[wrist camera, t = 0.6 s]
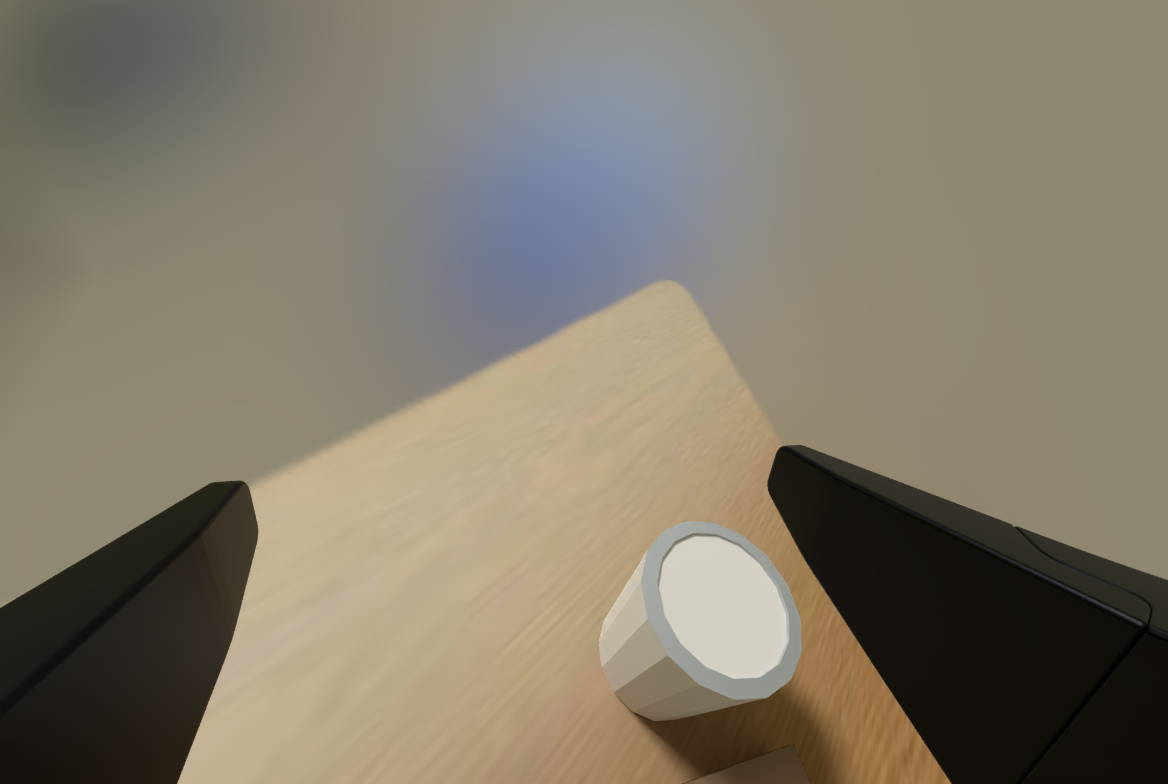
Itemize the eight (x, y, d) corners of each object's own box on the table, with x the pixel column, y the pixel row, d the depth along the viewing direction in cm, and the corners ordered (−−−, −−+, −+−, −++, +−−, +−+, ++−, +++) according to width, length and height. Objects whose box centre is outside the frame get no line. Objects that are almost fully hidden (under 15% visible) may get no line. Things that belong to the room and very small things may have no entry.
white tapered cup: (591, 571, 26) (641, 503, 21) (711, 598, 27) (784, 538, 22) (580, 724, 21) (642, 681, 17) (726, 750, 22) (824, 715, 18)
